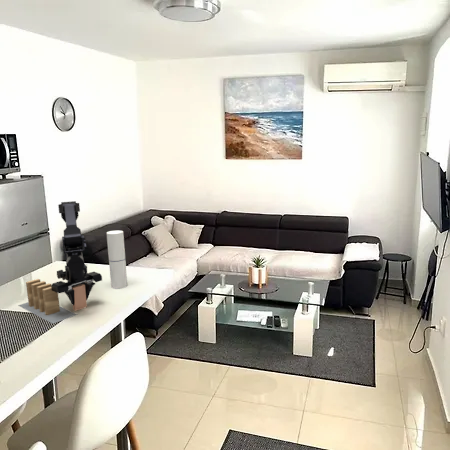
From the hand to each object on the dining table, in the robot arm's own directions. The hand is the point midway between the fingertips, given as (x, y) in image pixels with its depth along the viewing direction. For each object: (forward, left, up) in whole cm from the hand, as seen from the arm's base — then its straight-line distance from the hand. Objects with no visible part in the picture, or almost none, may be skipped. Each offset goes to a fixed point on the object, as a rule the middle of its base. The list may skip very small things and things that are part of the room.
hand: (79, 302), depth 171 cm
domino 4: (+10, +1, -2) cm, 10 cm away
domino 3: (+12, -3, -2) cm, 13 cm away
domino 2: (+14, -7, -2) cm, 16 cm away
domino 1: (+17, -11, -2) cm, 20 cm away
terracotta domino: (0, 0, -3) cm, 3 cm away
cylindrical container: (-17, -22, -3) cm, 29 cm away
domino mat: (+12, -3, -3) cm, 13 cm away
